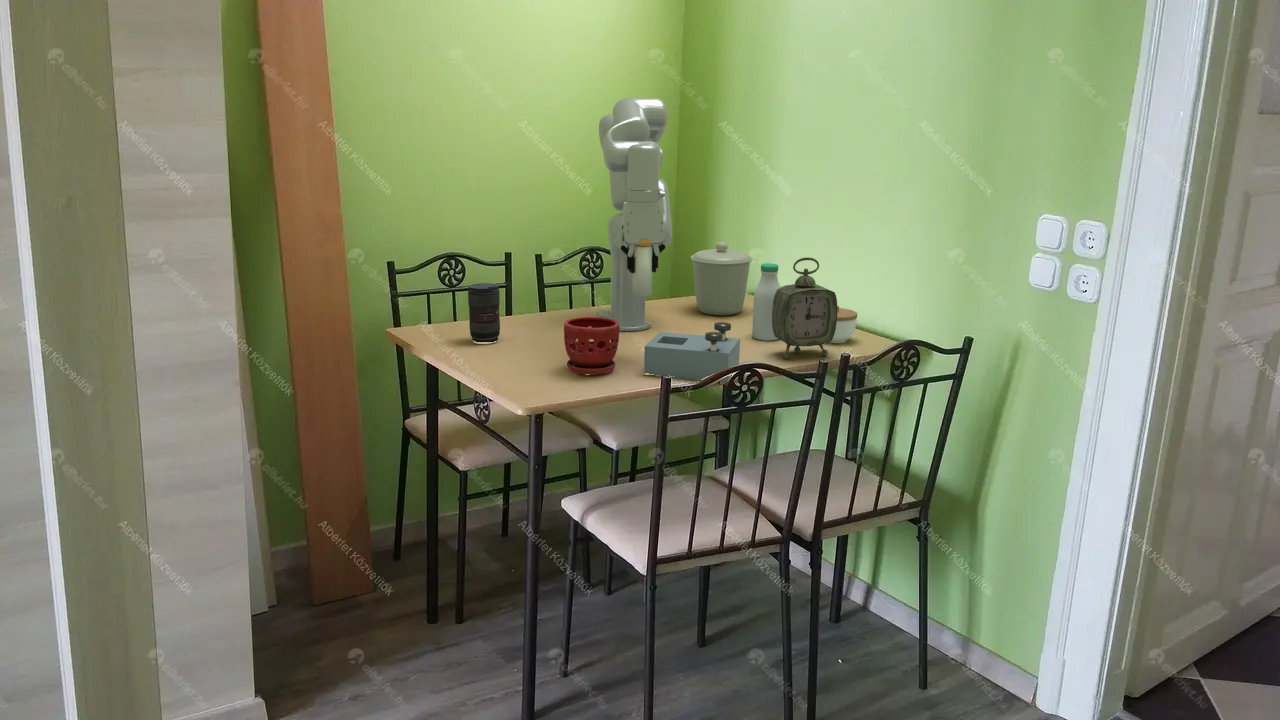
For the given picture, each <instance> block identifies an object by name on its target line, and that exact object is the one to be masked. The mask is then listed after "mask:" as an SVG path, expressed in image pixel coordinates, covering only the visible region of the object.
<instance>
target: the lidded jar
mask: <svg viewBox="0 0 1280 720" xmlns="http://www.w3.org/2000/svg"><path fill="white" fill-rule="evenodd" d="M857 318H858V312H856V311H854V310H853V309H849V308H843V307H840V305H837V323H836V330H835V334H834V336H833V339H832V341H830V342H828V343H829V344H844V343H846V342H847V341H848V340H849V339H850V338H851V337H852V336H853V334H854V332H855V330H856V326H857Z"/></svg>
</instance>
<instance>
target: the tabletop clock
mask: <svg viewBox="0 0 1280 720" xmlns="http://www.w3.org/2000/svg"><path fill="white" fill-rule="evenodd" d="M804 261H812V262H814V263H815V264H816V265H817V267H816V268H815V269H813V270H811V271H810V270H809V269H808V268H804V269H803V271H800V270H797V269H796V265H797V264H799V263H800V262H804ZM792 269H793V271H794V272H795V273H796V274H798V275H799V276H798V277H797V278H796V279H795V282H794V283H792V284H786V285H783V286H780V288H778V289H777V291H776V293H775V296H774V300H773V308H772V328H773V333H774V335H775V337H777V338H778V340H780V341H782V342H783V343H785V344H786V348H785V352H784V353H783V354H782V357H783V359H784V360H786V359H789V358H790V354H789V350H790V348H791V347H794V349H793V351H794V352H795V353H796V354H799V353H800V352H801V347H813V346H819V347H820V349H821V355H822V356H823V357H825V356H826V357H827V356H828V354H829V351H828V350H827V349H825V348H824V345H825V344H828V343H829V342H830V341H832V339H833V336H834V334H835V330H836V323H837V306H838V299H837V294H836V292H835V291H833V290H831V289H828V288H825V286H821V285H819V284H816V280H815V279H814V277H812V276H811V275H812V274H814V273H816V272H817V271H818V270H819V269H820V262H819V261H818V260H817V259H816V258H813V257H802V258H799V259H797V260H796V261H795V262H793V266H792Z"/></svg>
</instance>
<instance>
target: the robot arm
mask: <svg viewBox="0 0 1280 720" xmlns="http://www.w3.org/2000/svg"><path fill="white" fill-rule="evenodd" d="M668 119H669V111H668V108H667V105H666V103H665V102H664V100H663V99H661V98H658V97H626V98H625V97H624V98H622V99H620V100H618V101H617V102H616V103H615V104H614V106H613V109H612V113H609V114H606V115H604V116H603V117H601V118H600V119H599V123H598V136H599V137H598V138H599V141H600V146H601V149H602V153H603V160H604V164H605V167H606V168H607V170H608V171H609V183H610V185H609V186H610V197H611V198H610V199H611V204H612V206H613V209H615V210H616V211H618V212H621V213H617V214H613V215H612V216H611V217H610V218H609V220H608V222H607V235H608V241H609V248H610V249H609V250H610V308H608V310H605V309H597V311H596V317H600V318H608V319H612V320H615V321H617V322H619V324H620V330H619V332H636V331H637V332H639V331H644V330H647V329H649V328H651V321H650V320H649V319H646V296H635V295H633V294H632V285H633V273H634V272H635V258H634V257H633V251H634V248H635V245H636V244H639V241H640V239H650V242H651V244H653V245H652V246H653V249H652V273H656V272H657V269H658V268H659V256H660V255H661V254H662V253H663V252H664V250H665V249H666V248H668V246H669V245H671V244H672V243H673V240H672V239H673V229H672V228H673V225H672V214H671V201H670V200H671V199H670V192H669V187H668V184H667V182H666V181H665V179H663V178H660V167H661V166H662V165H663V160H664V158H663V157H664V155H663V148H661V147H660V144H658V143H660V141H661V140H662V138H663V135H664V132H665V131H666V128H667V125H668V121H669V120H668Z"/></svg>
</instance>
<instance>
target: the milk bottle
mask: <svg viewBox="0 0 1280 720" xmlns="http://www.w3.org/2000/svg"><path fill="white" fill-rule="evenodd" d="M760 273H761V276H760V279H759V281H758V284H757V286H756V288H755V291H754V295H753V302H752V303H753V307H752V323H751V324H752V326H751V327H752V328H751V330H752V331H751V336H752V337H753V339H755V340H759V341H770V342H771V341H777V340H779V339H778V338H777V337H775V335H774V333H773V328H772V308H773V300H774V296H775V293H776V291H777V289H778V288H780V287H781V285H780V282H779V278H778V274H779V265H778V264H777V263H772V262H771V263H770V262H767V263H766V262H765V263H761V266H760Z"/></svg>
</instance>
